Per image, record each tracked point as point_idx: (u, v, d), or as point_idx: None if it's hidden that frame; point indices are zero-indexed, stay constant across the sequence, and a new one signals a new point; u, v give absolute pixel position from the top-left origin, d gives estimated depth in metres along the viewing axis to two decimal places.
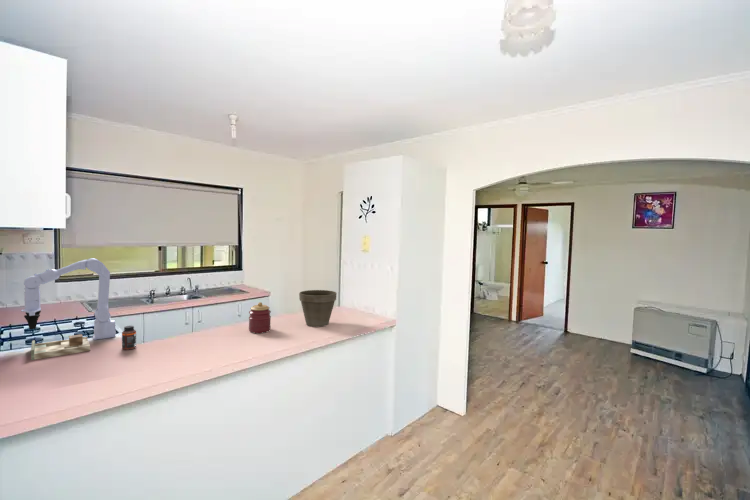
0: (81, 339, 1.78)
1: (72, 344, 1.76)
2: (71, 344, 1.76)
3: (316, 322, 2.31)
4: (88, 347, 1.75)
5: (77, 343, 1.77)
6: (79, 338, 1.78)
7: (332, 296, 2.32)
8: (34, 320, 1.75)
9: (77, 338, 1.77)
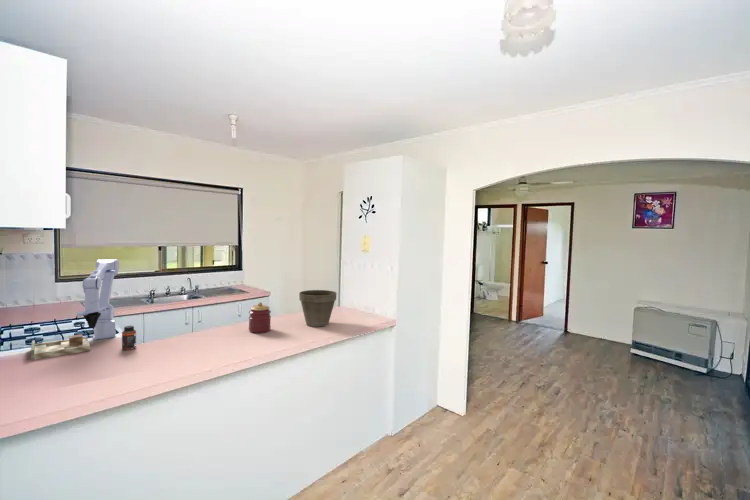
0: (81, 339, 1.78)
1: (72, 344, 1.76)
2: (71, 344, 1.76)
3: (316, 322, 2.31)
4: (88, 347, 1.75)
5: (77, 343, 1.77)
6: (79, 338, 1.78)
7: (332, 296, 2.32)
8: None
9: (77, 338, 1.77)
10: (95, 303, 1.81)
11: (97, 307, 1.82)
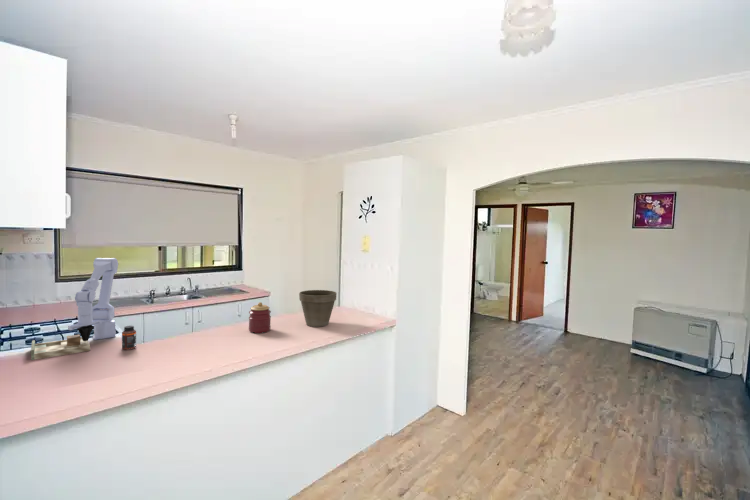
0: (79, 339, 1.78)
1: (70, 344, 1.76)
2: (69, 344, 1.75)
3: (316, 322, 2.31)
4: (88, 347, 1.75)
5: (75, 343, 1.77)
6: (77, 338, 1.77)
7: (332, 296, 2.32)
8: None
9: (75, 338, 1.77)
10: (87, 316, 1.79)
11: (90, 320, 1.80)
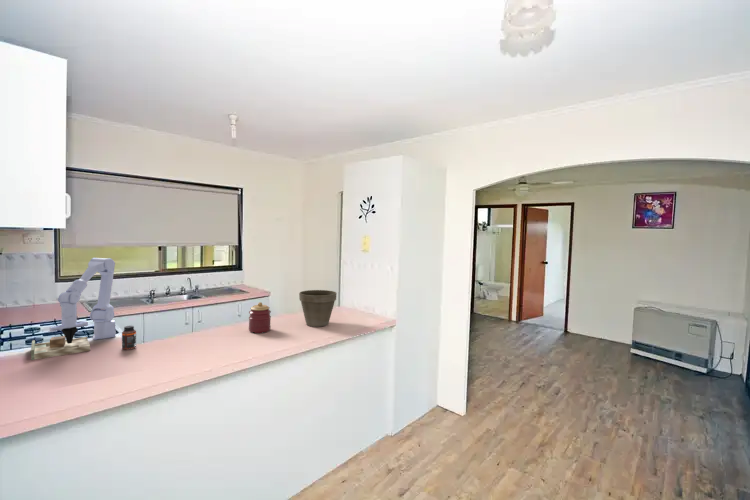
0: (62, 341, 1.74)
1: (52, 346, 1.72)
2: (51, 346, 1.72)
3: (316, 322, 2.31)
4: (88, 347, 1.75)
5: (58, 345, 1.73)
6: (60, 340, 1.74)
7: (332, 296, 2.32)
8: None
9: (58, 340, 1.73)
10: (69, 318, 1.74)
11: (72, 322, 1.75)
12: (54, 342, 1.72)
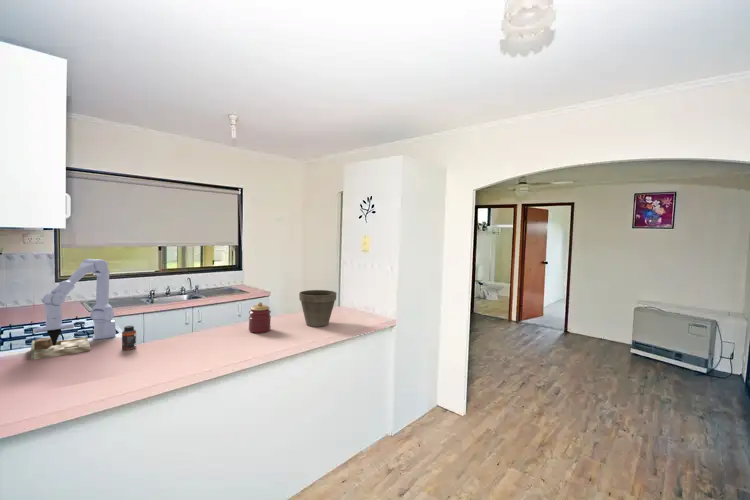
0: (46, 343, 1.71)
1: (37, 348, 1.69)
2: (36, 347, 1.69)
3: (316, 322, 2.31)
4: (88, 347, 1.75)
5: (42, 347, 1.70)
6: (44, 341, 1.70)
7: (332, 296, 2.32)
8: None
9: (42, 342, 1.70)
10: (52, 320, 1.70)
11: (55, 324, 1.71)
12: (39, 344, 1.70)
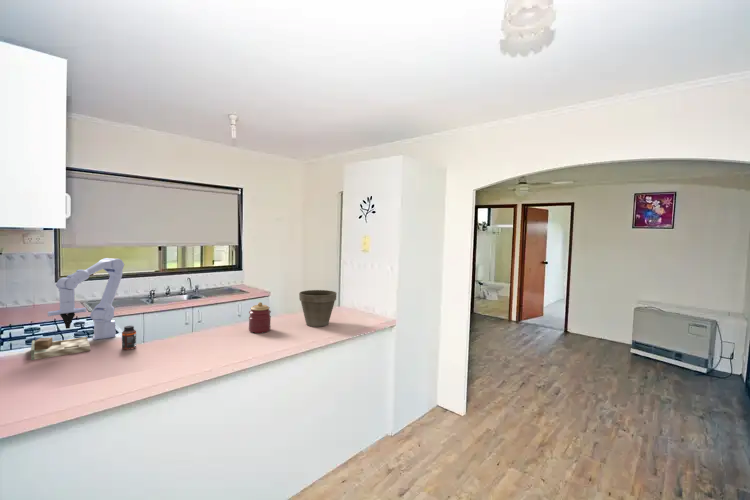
0: (46, 343, 1.71)
1: (37, 348, 1.69)
2: (36, 347, 1.69)
3: (316, 322, 2.31)
4: (88, 347, 1.75)
5: (42, 347, 1.70)
6: (44, 341, 1.70)
7: (332, 296, 2.32)
8: None
9: (42, 342, 1.70)
10: (66, 304, 1.76)
11: (69, 308, 1.77)
12: (39, 344, 1.70)
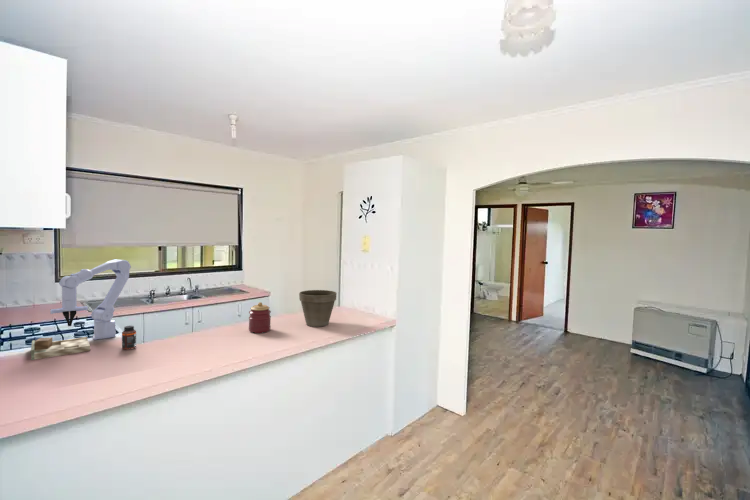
0: (46, 343, 1.71)
1: (37, 348, 1.69)
2: (36, 347, 1.69)
3: (316, 322, 2.31)
4: (88, 347, 1.75)
5: (42, 347, 1.70)
6: (44, 341, 1.70)
7: (332, 296, 2.32)
8: None
9: (42, 342, 1.70)
10: (67, 302, 1.80)
11: (70, 306, 1.81)
12: (39, 344, 1.70)
